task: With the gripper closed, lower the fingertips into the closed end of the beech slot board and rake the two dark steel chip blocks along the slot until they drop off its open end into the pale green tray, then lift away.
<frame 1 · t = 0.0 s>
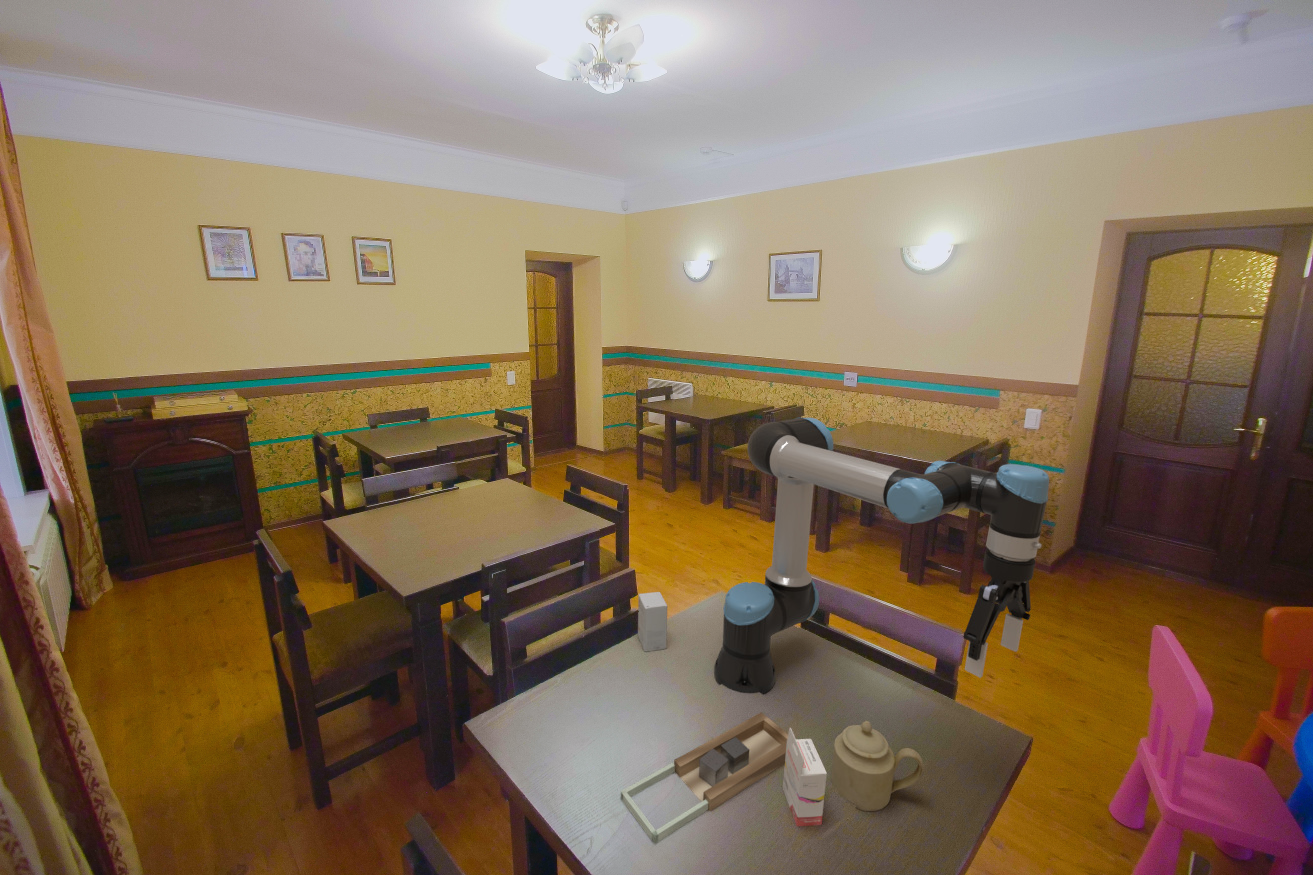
hand: (991, 660, 103), 28 cm above the table, fingers open, 13 cm apart
slot board: (737, 766, 113), on the table
ink cartridge box: (801, 809, 104), on the table
small box: (651, 642, 155), on the table
chip a: (734, 764, 112), point 1 cm above the table, touching slot board
tray: (663, 807, 104), on the table
chip b: (713, 776, 109), point 1 cm above the table, touching slot board
sugar bowl: (869, 787, 109), on the table
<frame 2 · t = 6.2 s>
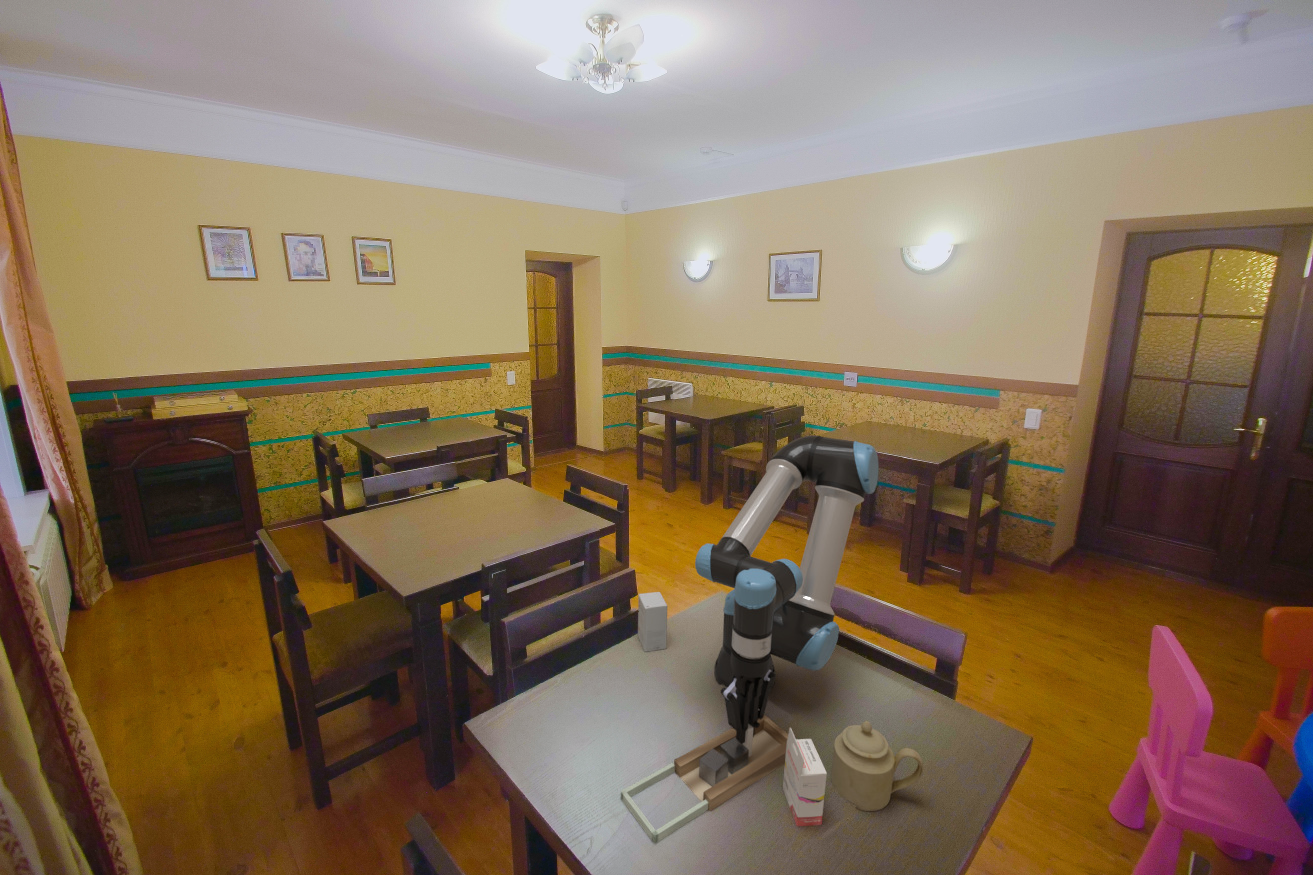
hand: (744, 752, 113), 3 cm above the table, fingers closed
chip a: (733, 764, 112), point 1 cm above the table, touching gripper
everything else where it was.
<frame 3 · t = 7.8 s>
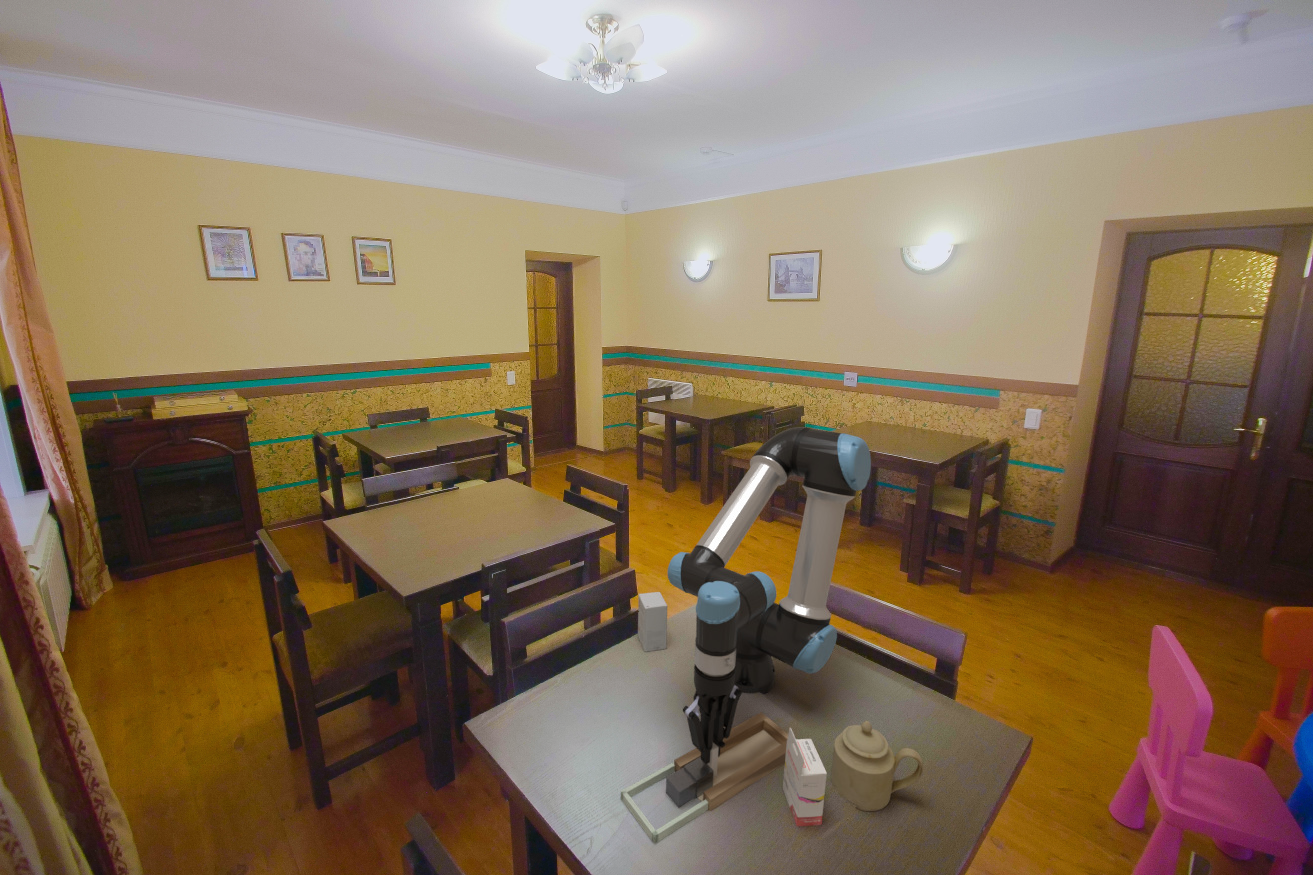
hand: (709, 772, 108), 3 cm above the table, fingers closed
chip a: (698, 785, 107), point 1 cm above the table, touching chip b, gripper, slot board
chip b: (680, 797, 105), point 1 cm above the table, touching chip a
everything else where it was.
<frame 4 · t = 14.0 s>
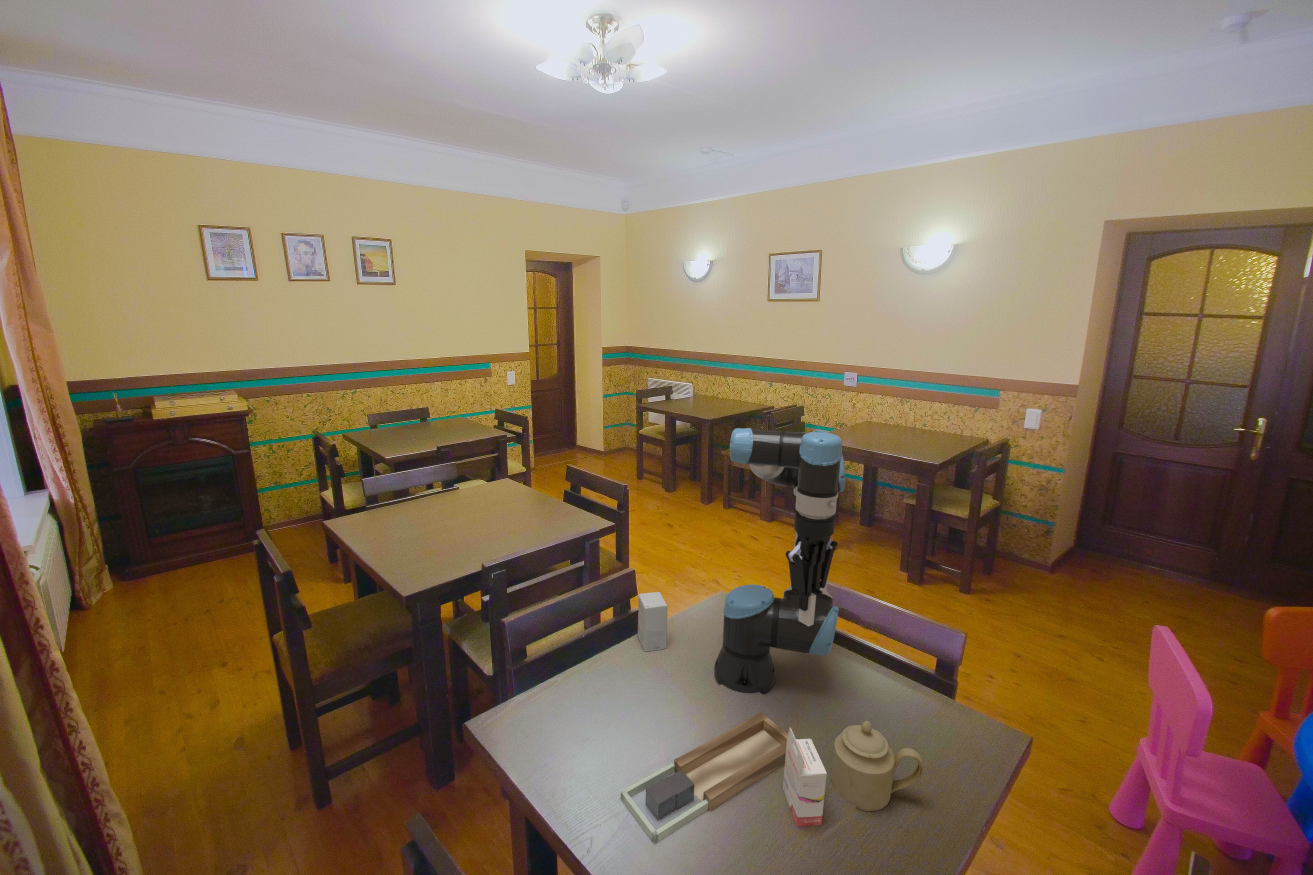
hand: (805, 622, 114), 28 cm above the table, fingers closed
chip a: (678, 799, 105), resting on tray
chip b: (660, 808, 103), resting on tray
everything else where it was.
at the end: chip a inside the target area on the tray (3.1 cm from its centre), point 0.5 cm above the tray's base; chip b inside the target area on the tray (0.9 cm from its centre), point 0.5 cm above the tray's base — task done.
